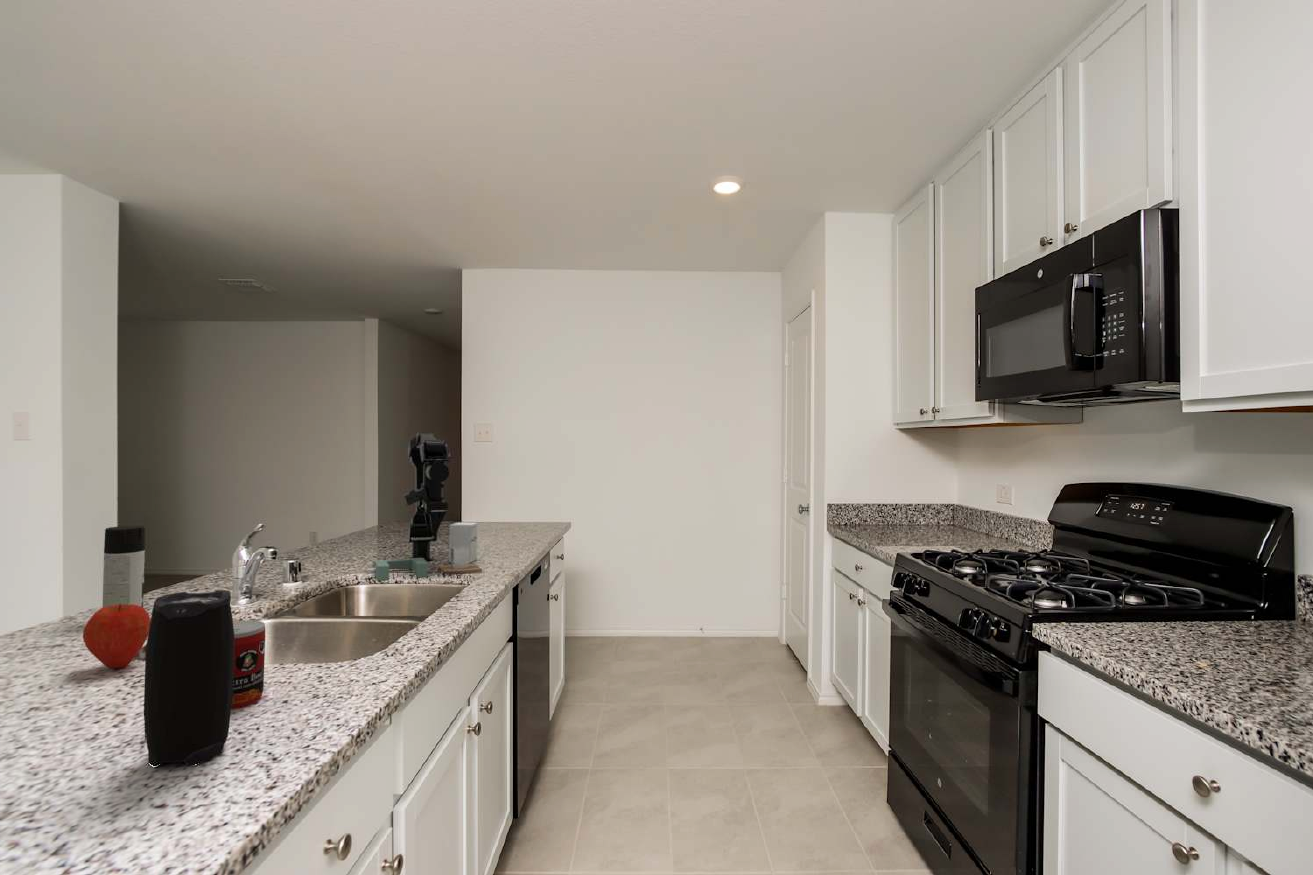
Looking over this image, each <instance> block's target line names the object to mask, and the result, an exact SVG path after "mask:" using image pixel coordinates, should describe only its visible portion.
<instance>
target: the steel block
mask: <svg viewBox="0 0 1313 875" xmlns="http://www.w3.org/2000/svg"><path fill="white" fill-rule="evenodd" d="M450 565H451V567H452V568H453V569H462V568H469V548H468V547H466V546H462V547H451V563H450Z"/></svg>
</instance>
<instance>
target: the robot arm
mask: <svg viewBox="0 0 1313 875" xmlns="http://www.w3.org/2000/svg"><path fill="white" fill-rule="evenodd" d="M407 457H408V458H409V463H410V465H411V467H412V468H413V470H414V480H415V481H414V483H415V484H414V486H415V487H414V488H415V489H412V490H409V491H408V492H407V493H404V494H402V498H403V500H404V504H405V506H411V505H413V504H415V513H414V515H413V516H412V518H411V520H410V523H409V525H408V529H407V535H406V536H407V537H406V538H407V539H406V540H407V543H409V544H410V543H411V548H412V549H411V556H410V557H409V559H412V558H424V559H425V560H426V562H428V561H433V557H431V542H437V540H438V539H437V538H438V533H439V532H438V531H439V528H440V526H441V524H442V522H443V520H444V517H445V516H446V514H447V513H448V511H449V503H448V502H447V500H445V498H444V497H443V495H444V494H443V491H444V490H443V489H444V488H445V484H444V482H445V481H446V480H447V479H448V478H449V475H450V469H449V467H448V466H447V465H446V464H445V463H449V462H450V460H451V453H450V447H449V446H448V443H446V441H445V440H444V439H436V437H435V436H434V433H433V432H432V431H431V432H430V431H419V432H416V435H415V437H414V438H413V439H411V440H410V441H409V443H408V448H407Z"/></svg>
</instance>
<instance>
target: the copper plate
mask: <svg viewBox="0 0 1313 875" xmlns="http://www.w3.org/2000/svg"><path fill="white" fill-rule="evenodd" d="M439 569H440V570H441V571H442V572H443V573H444V574H443V573H442V572H441V571H440V570H439ZM437 570H439V571H440V572H441V573H442V574H443V575H444V576H446V575H445V574H455V575H464V574H465V575H467V574H466V573H468V574H478V573H477V572H481V573H483V568H481V567H480V566H479V565H477V564H476V563H474V562H471V563H469V568H462V569H453V568H452V567H451V564H442V565H441V564H440V565H439V564H438V565H437Z"/></svg>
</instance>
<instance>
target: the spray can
mask: <svg viewBox="0 0 1313 875" xmlns="http://www.w3.org/2000/svg"><path fill="white" fill-rule="evenodd" d="M103 544H104V545H103V554H104V555H103V573H102V576H103V581H102V608H104V607H110V606H118V605H120V604H121V605H126V604H128V605H138V606H141V607H143V608H144V604H145V603H144V602H145V601H144V597H145V596H144V595H145V594H144V593H145V589H144V588H145V564H146V563H145V562H146V561H145V559H146V526H144V525H124V526H123V525H121V526H110V527H107V528H105V530H104V543H103Z"/></svg>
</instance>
